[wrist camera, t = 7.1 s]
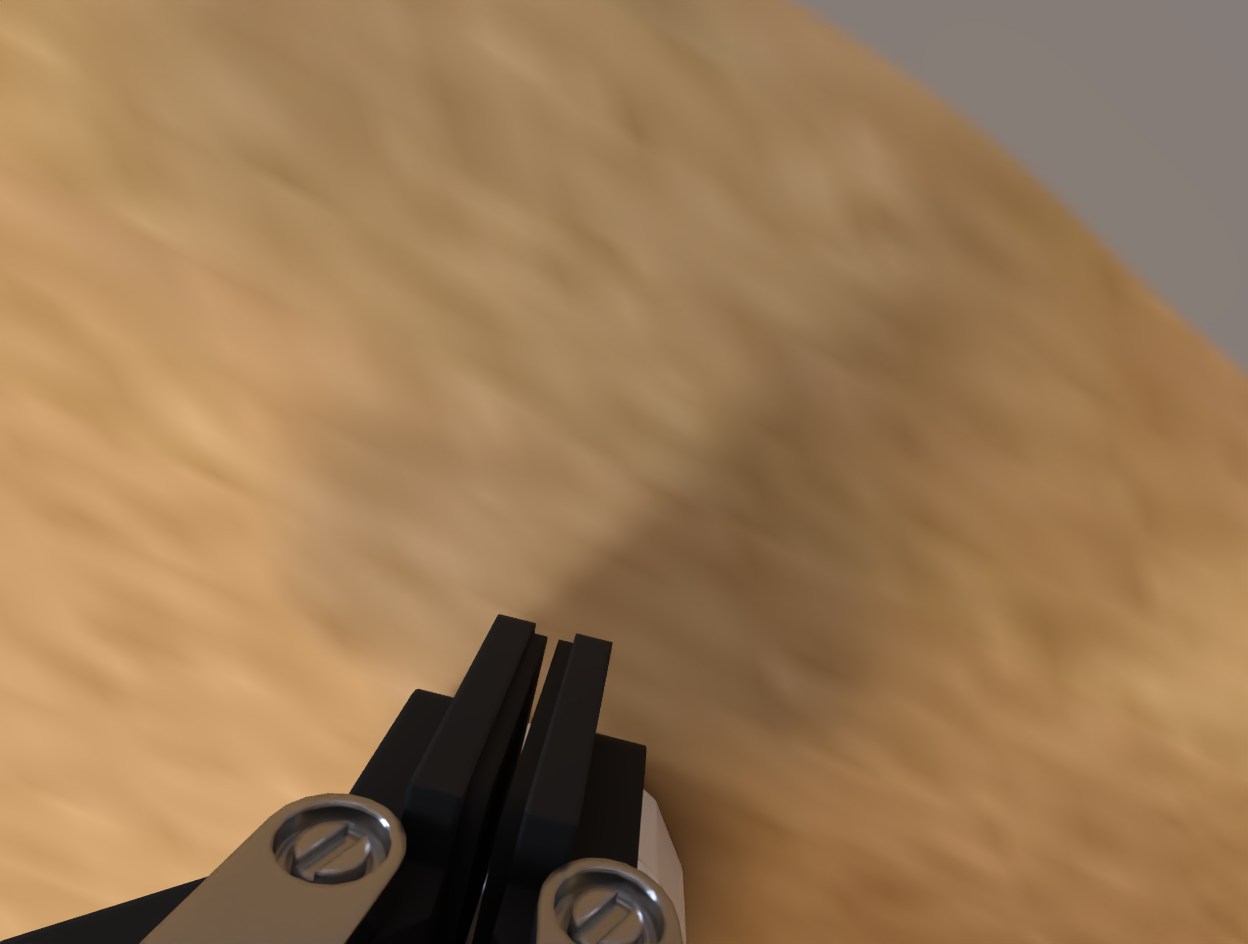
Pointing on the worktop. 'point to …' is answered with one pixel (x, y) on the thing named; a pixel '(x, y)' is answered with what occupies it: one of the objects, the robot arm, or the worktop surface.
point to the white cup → (646, 859)
